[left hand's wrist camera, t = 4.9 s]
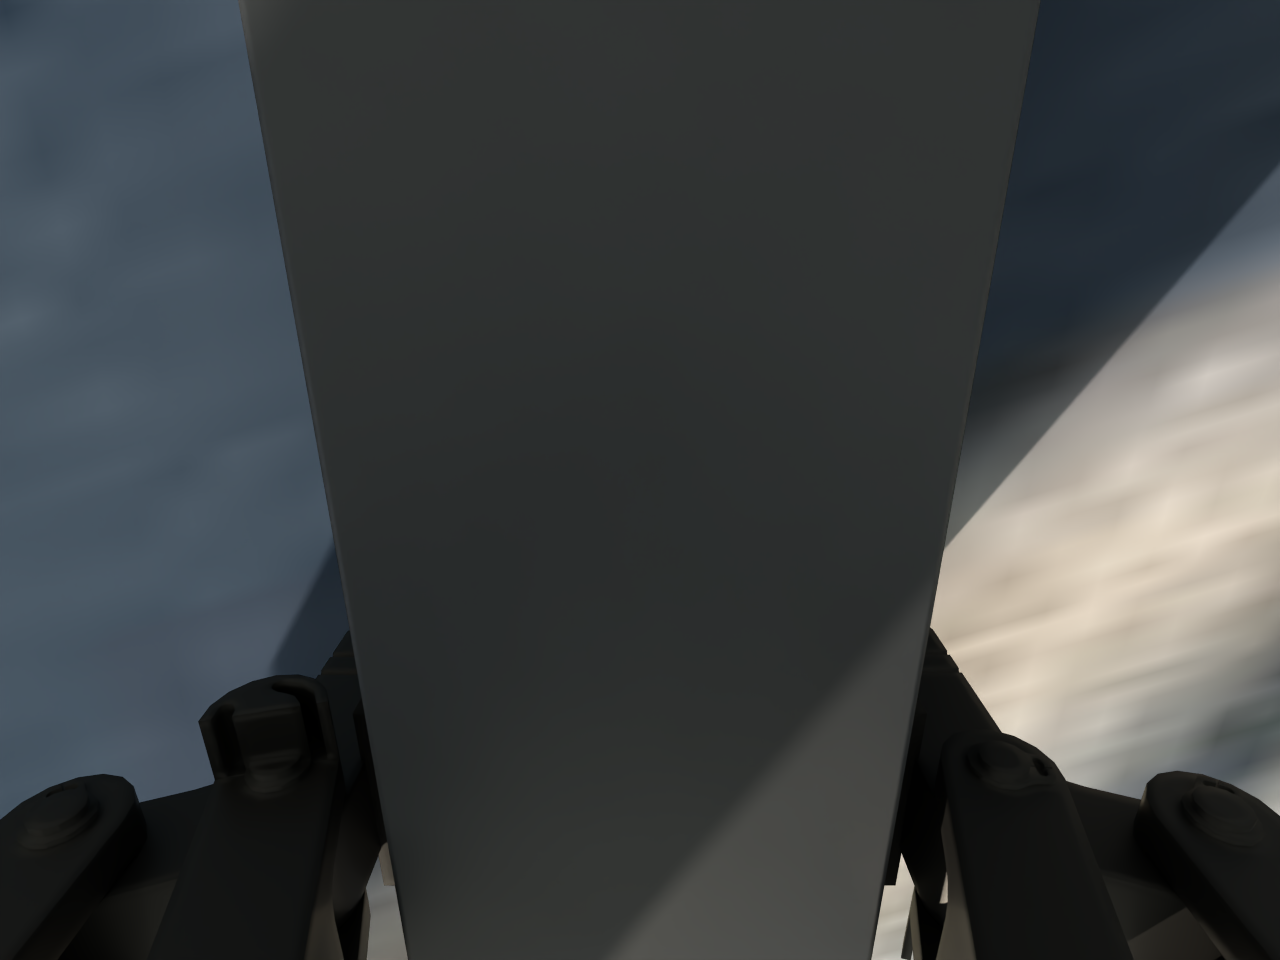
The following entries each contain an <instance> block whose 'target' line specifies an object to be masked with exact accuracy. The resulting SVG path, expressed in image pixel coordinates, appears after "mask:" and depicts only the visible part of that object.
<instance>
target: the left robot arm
mask: <svg viewBox="0 0 1280 960" xmlns="http://www.w3.org/2000/svg"><path fill="white" fill-rule="evenodd" d="M198 722H199V726H200V729H201V733H202V736H203V740H204V743H205V747H206V750H207V754H208V757H209V761H210V764H211V768H212V771H213V775H214V778H215V781H214V784H212V785H209V786H205V787H202V788H199V789H196V790H192V791H187V792H183V793H179V794H174V795H170V796H166V797H162V798H157V799H153V800H149V801H144V802H140V803H139V801H138V798H137V795H136V792H135V789H134V786H133V785H131V784H130V783H129V782H128V781H127V780H126V779H125V778H123V777H120V776H114V775H107V774H99V775H92V776H85V777H78V778H75V779H72V780H69V781H66V782H63V783H60V784H58V785H55V786H52V787H49V788H47V789H46V790H44V791H42V792H40V793H38V794H36V795H35V796H33V797H31V798H29V799H27V800H25V801H24V802H22V803H21V804H19V805H18V806H17V807H16V808H14V809H13V810H12V811H11V812H9V813H8V814H7V815H6V816H4V817H3V818H2V819H1V820H0V960H366V959H367V948H368V938H369V927H370V909H369V902H368V896H367V891H366V885H367V883H368V880H369V878H370V875H371V873H372V870H373V868H374V865H375V863H376V860H377V858H378V855H379V860H380V865H381V871H382V876H383V882H384V885H395V883H394V877H393V871H392V866H391V860H390V854H389V849H388V843H387V837H386V832H385V826H384V820H383V815H382V809H381V804H380V798H379V792H378V787H377V781H376V775H375V770H374V764H373V758H372V753H371V747H370V741H369V736H368V730H367V724H366V719H365V713H364V708H363V702H362V696H361V691H360V685H359V679H358V674H357V668H356V662H355V657H354V651H353V645H352V640H351V634H350V630H349V631H348V632H347V633H346V634H345V636H344V637H343V639H342V640H341V642H340V643H339V645H338V646H337V648H336V649H335V651H334V652H333V657H330V658H329V660H328V661H327V663H326V664H325V666H324V667H323V669H322V670H321V675H318V676H317V678H316V679H314V678H310V677H306V676H302V675H276V676H272V677H268V678H264V679H260V680H256V681H252V682H250V683H247V684H245V685H243V686H241V687H239V688H236V689H234V690H232V691H230V692H228V693H227V694H226V695H224V696H223V697H221V698H220V699H219V700H217V701H216V702H215V703H213V704H212V705H211V706H210V707H209V708H208V709H207V711H206V712H205V713H204V715H203V716H202V717H201V719H200V720H199V721H198ZM901 853H902V855H903V858H904V860H905V863H906V865H907V868H908V870H909V873H910V875H911V878H912V880H913V883H914V885H915V886H914V891H913V896H912V901H911V906H910V911H909V916H908V922H907V927H906V932H905V937H904V942H903V948H902V955H901V958H903V959H907V960H911V955H912V951H913V957H914V960H1280V816H1279V815H1278V814H1277V813H1275V812H1274V811H1273V810H1272V809H1270V808H1269V807H1268V806H1267V805H1265V804H1264V803H1263V802H1262V801H1260V800H1259V799H1257V798H1256V797H1254V796H1252V795H1250V794H1248V793H1246V792H1244V791H1243V790H1241V789H1239V788H1237V787H1235V786H1233V785H1232V784H1229V783H1226V782H1223V781H1221V780H1217V779H1215V778H1212V777H1209V776H1206V775H1203V774H1196V773H1189V772H1182V771H1173V772H1166V773H1160V774H1157V775H1156V776H1155V777H1154V778H1152V779H1151V780H1150V781H1149V782H1148V783H1147V784H1146V787H1145V790H1144V793H1143V796H1142V799H1141V800H1140V799H1136V798H1131V797H1127V796H1123V795H1118V794H1114V793H1110V792H1105V791H1101V790H1097V789H1092V788H1088V787H1084V786H1081V785H1078V784H1074V783H1071V782H1068V781H1066V780H1065V778H1064V777H1063V775H1062V774H1061V772H1060V770H1059V769H1058V767H1057V766H1056V764H1055V763H1054V762H1053V761H1052V760H1051V759H1050V758H1048V757H1047V756H1046V755H1045V754H1044V753H1042V752H1041V751H1040V750H1039V749H1038V748H1036V747H1034V746H1033V745H1031V744H1029V743H1027V742H1025V741H1023V740H1021V739H1019V738H1017V737H1015V736H1012V735H1008V734H1005V733H1002V732H1001V731H1000V729H999V728H998V726H997V725H996V723H995V722H994V720H993V719H992V717H991V716H990V714H989V713H988V711H987V710H986V708H985V707H984V705H983V704H982V702H981V701H980V699H979V698H978V696H977V695H976V693H975V692H974V690H973V689H972V687H971V686H970V684H969V683H968V681H967V680H966V678H965V677H964V675H963V674H962V673H959V668H958V666H957V665H956V663H955V662H954V660H953V659H952V657H951V656H950V655H947V650H946V648H945V647H944V645H943V644H942V643H941V641H940V640H939V638H938V637H937V635H936V634H935V632H934V631H933V629H931V628H930V629H929V635H928V641H927V646H926V652H925V658H924V663H923V669H922V675H921V680H920V686H919V692H918V697H917V703H916V709H915V714H914V720H913V726H912V731H911V737H910V743H909V748H908V754H907V760H906V765H905V771H904V777H903V782H902V788H901V794H900V799H899V805H898V811H897V816H896V822H895V828H894V833H893V839H892V845H891V850H890V856H889V862H888V867H887V873H886V879H885V884H884V885H896V879H897V874H898V868H899V863H900V858H901Z"/></svg>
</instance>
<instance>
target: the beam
mask: <svg viewBox="0 0 1280 960" xmlns="http://www.w3.org/2000/svg"><path fill="white" fill-rule="evenodd" d="M1040 1H1041V0H238V2H239V7H240V13H241V19H242V24H243V30H244V36H245V41H246V47H247V52H248V58H249V64H250V69H251V75H252V81H253V86H254V92H255V98H256V103H257V109H258V115H259V120H260V126H261V132H262V137H263V143H264V148H265V154H266V160H267V165H268V171H269V177H270V182H271V188H272V194H273V199H274V205H275V211H276V216H277V222H278V228H279V233H280V239H281V244H282V250H283V256H284V261H285V267H286V273H287V278H288V284H289V290H290V295H291V301H292V307H293V312H294V318H295V324H296V329H297V335H298V340H299V346H300V352H301V357H302V363H303V369H304V374H305V380H306V386H307V391H308V397H309V403H310V408H311V414H312V420H313V425H314V431H315V436H316V442H317V448H318V453H319V459H320V465H321V470H322V476H323V482H324V487H325V493H326V499H327V504H328V510H329V516H330V521H331V527H332V532H333V538H334V544H335V549H336V555H337V561H338V566H339V572H340V578H341V583H342V589H343V595H344V600H345V606H346V612H347V617H348V623H349V628H350V634H351V640H352V645H353V651H354V657H355V662H356V668H357V674H358V679H359V685H360V691H361V696H362V702H363V708H364V713H365V719H366V724H367V730H368V736H369V741H370V747H371V753H372V758H373V764H374V770H375V775H376V781H377V787H378V792H379V798H380V804H381V809H382V815H383V820H384V826H385V832H386V837H387V843H388V849H389V854H390V860H391V866H392V871H393V877H394V883H395V888H396V894H397V900H398V905H399V911H400V916H401V922H402V928H403V933H404V939H405V945H406V950H407V956H408V960H871V958H872V952H873V947H874V941H875V935H876V930H877V924H878V918H879V913H880V907H881V901H882V896H883V890H884V884H885V879H886V873H887V867H888V862H889V856H890V850H891V845H892V839H893V833H894V828H895V822H896V816H897V811H898V805H899V799H900V794H901V788H902V782H903V777H904V771H905V765H906V760H907V754H908V748H909V743H910V737H911V731H912V726H913V720H914V714H915V709H916V703H917V697H918V692H919V686H920V680H921V675H922V669H923V663H924V658H925V652H926V646H927V641H928V635H929V629H930V624H931V618H932V612H933V607H934V601H935V595H936V590H937V584H938V578H939V573H940V567H941V561H942V556H943V550H944V544H945V539H946V533H947V527H948V522H949V516H950V510H951V505H952V499H953V493H954V488H955V482H956V476H957V471H958V465H959V459H960V454H961V448H962V442H963V437H964V431H965V425H966V420H967V414H968V408H969V403H970V397H971V391H972V386H973V380H974V374H975V369H976V363H977V357H978V352H979V346H980V340H981V335H982V329H983V324H984V318H985V312H986V307H987V301H988V295H989V290H990V284H991V278H992V273H993V267H994V261H995V256H996V250H997V244H998V239H999V233H1000V227H1001V222H1002V216H1003V210H1004V205H1005V199H1006V193H1007V188H1008V182H1009V176H1010V171H1011V165H1012V159H1013V154H1014V148H1015V142H1016V137H1017V131H1018V125H1019V120H1020V114H1021V108H1022V103H1023V97H1024V91H1025V86H1026V80H1027V74H1028V69H1029V63H1030V57H1031V52H1032V46H1033V40H1034V35H1035V29H1036V23H1037V18H1038V12H1039V6H1040Z"/></svg>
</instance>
